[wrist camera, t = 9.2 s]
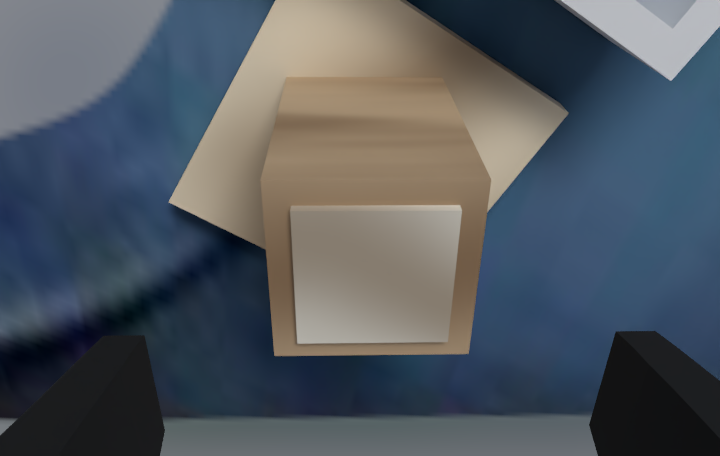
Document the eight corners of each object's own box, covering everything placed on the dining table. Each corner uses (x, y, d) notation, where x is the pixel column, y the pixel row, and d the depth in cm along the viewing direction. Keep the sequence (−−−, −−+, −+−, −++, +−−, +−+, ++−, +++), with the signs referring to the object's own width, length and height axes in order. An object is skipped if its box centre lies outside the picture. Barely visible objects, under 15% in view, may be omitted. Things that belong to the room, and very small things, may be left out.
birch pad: (559, 103, 17) (569, 113, 16) (399, 300, 21) (401, 315, 20) (309, -65, 15) (308, -61, 14) (175, 189, 18) (168, 202, 18)
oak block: (431, 212, 18) (470, 360, 13) (293, 213, 18) (273, 362, 12) (442, 77, 16) (493, 184, 11) (286, 76, 16) (259, 185, 10)
